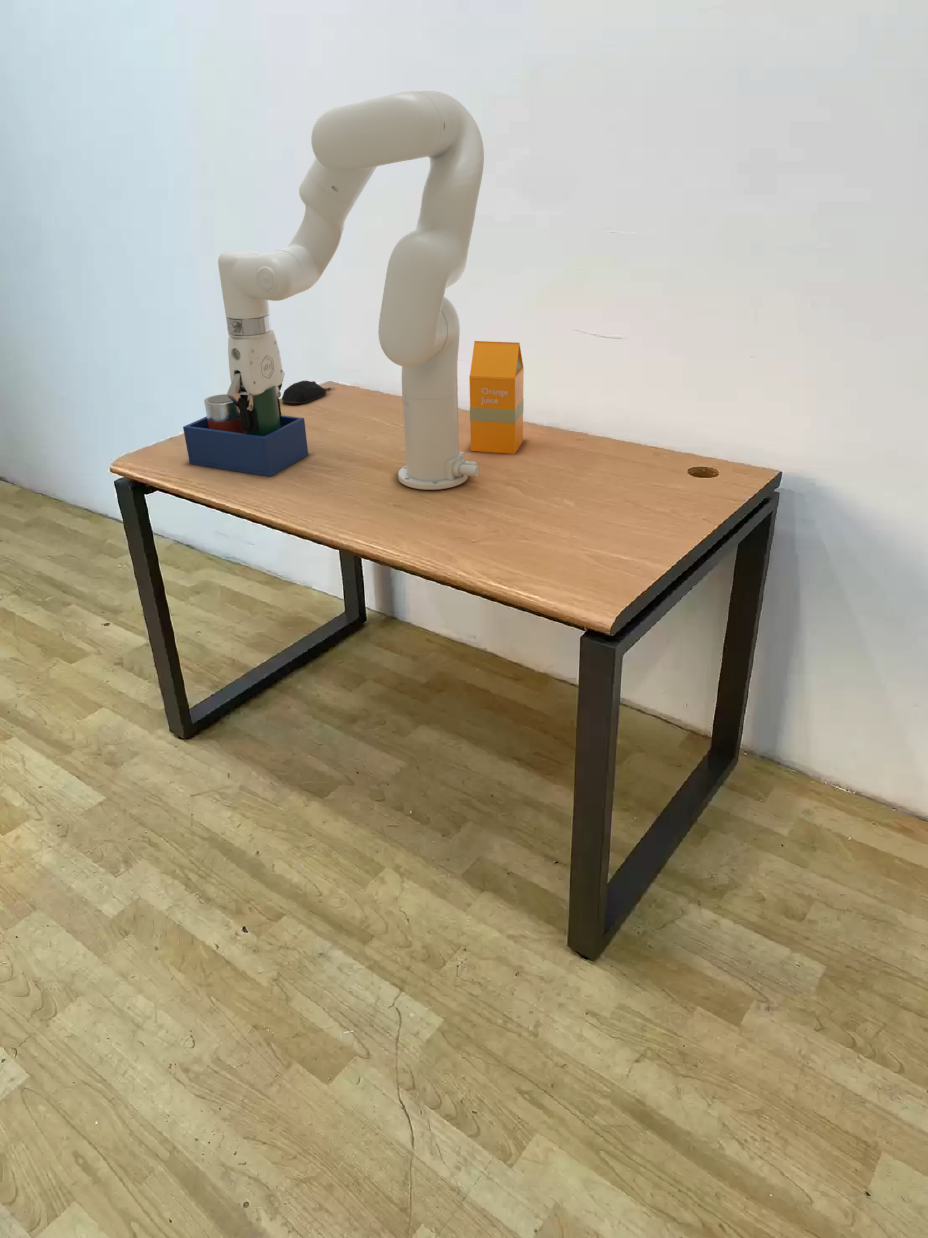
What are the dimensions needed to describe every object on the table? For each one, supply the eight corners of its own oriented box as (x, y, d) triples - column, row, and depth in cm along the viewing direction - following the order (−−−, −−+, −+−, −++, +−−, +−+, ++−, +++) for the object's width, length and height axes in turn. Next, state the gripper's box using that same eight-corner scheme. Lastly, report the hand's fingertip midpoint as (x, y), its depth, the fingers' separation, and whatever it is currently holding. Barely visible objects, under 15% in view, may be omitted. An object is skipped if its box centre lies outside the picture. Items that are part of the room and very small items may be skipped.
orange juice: (515, 454, 172) (515, 347, 162) (470, 451, 174) (468, 345, 164) (523, 440, 178) (524, 337, 168) (480, 438, 181) (478, 336, 171)
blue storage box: (308, 454, 174) (304, 417, 171) (270, 476, 165) (265, 438, 161) (230, 443, 181) (225, 407, 178) (189, 463, 171) (182, 426, 168)
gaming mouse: (340, 391, 213) (338, 374, 211) (296, 407, 202) (294, 389, 200) (320, 387, 216) (318, 370, 214) (276, 403, 205) (274, 385, 203)
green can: (289, 438, 171) (282, 383, 165) (268, 449, 166) (261, 392, 160) (260, 434, 173) (253, 379, 168) (239, 445, 168) (231, 388, 163)
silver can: (255, 449, 176) (247, 395, 170) (234, 460, 170) (225, 405, 165) (227, 445, 178) (219, 392, 173) (205, 455, 173) (196, 401, 168)
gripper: (236, 338, 151) (250, 441, 160) (294, 317, 164) (305, 413, 173) (200, 334, 153) (216, 436, 162) (260, 314, 167) (272, 409, 176)
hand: (262, 423), depth 168 cm, fingers closed on green can, 6 cm apart
